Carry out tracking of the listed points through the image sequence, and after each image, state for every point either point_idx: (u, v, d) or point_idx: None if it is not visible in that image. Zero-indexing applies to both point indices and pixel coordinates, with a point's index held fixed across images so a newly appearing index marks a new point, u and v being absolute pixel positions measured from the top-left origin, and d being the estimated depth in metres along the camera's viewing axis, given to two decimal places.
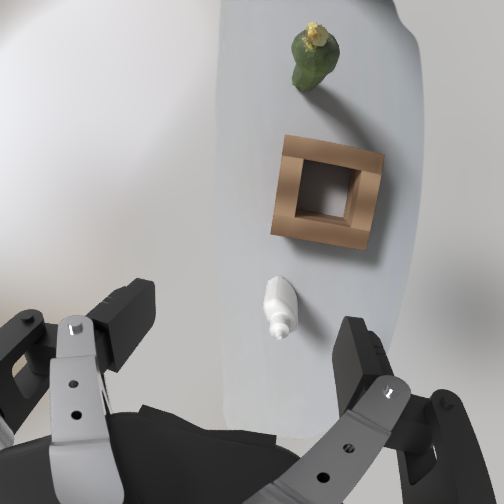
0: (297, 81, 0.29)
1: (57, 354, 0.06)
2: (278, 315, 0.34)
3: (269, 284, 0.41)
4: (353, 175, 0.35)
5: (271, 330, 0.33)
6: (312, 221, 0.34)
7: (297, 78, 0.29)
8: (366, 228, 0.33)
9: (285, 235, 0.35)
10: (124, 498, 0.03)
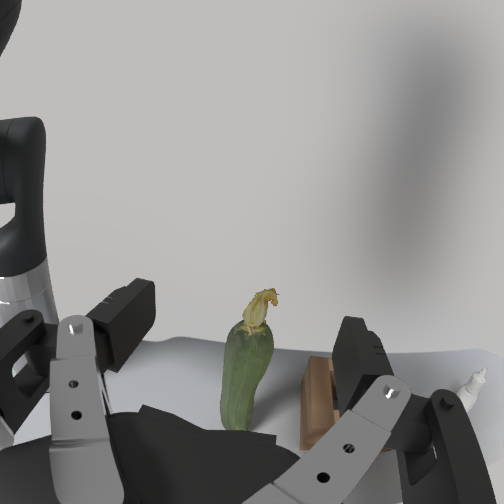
0: (246, 417, 0.27)
1: (57, 354, 0.06)
2: (469, 390, 0.25)
3: None
4: None
5: (483, 381, 0.24)
6: None
7: (245, 412, 0.27)
8: None
9: None
10: (124, 498, 0.03)
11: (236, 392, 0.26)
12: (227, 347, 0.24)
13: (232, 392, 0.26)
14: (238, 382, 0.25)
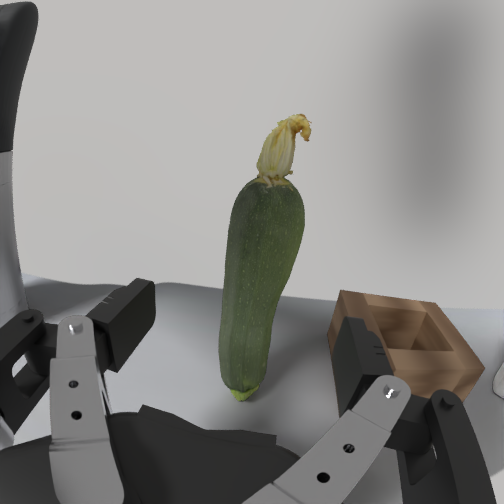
0: (260, 360, 0.19)
1: (57, 354, 0.06)
2: None
3: None
4: None
5: None
6: (445, 337, 0.21)
7: (258, 352, 0.18)
8: (418, 302, 0.27)
9: (475, 356, 0.18)
10: (124, 498, 0.03)
11: (245, 308, 0.17)
12: (232, 217, 0.16)
13: (238, 310, 0.17)
14: (250, 284, 0.16)
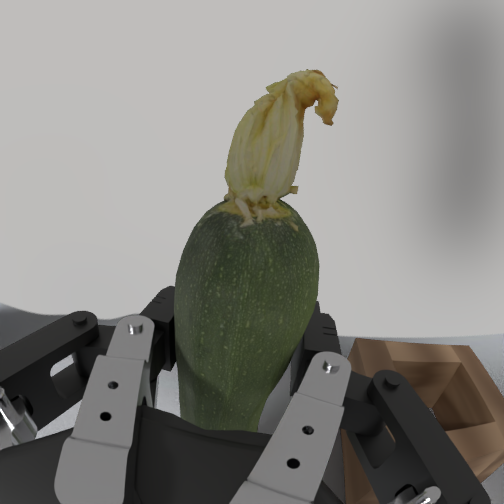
0: None
1: (108, 351, 0.07)
2: None
3: None
4: None
5: None
6: (485, 400, 0.13)
7: None
8: (450, 348, 0.19)
9: None
10: (124, 498, 0.03)
11: (212, 418, 0.09)
12: (177, 281, 0.08)
13: (202, 418, 0.09)
14: (215, 393, 0.08)
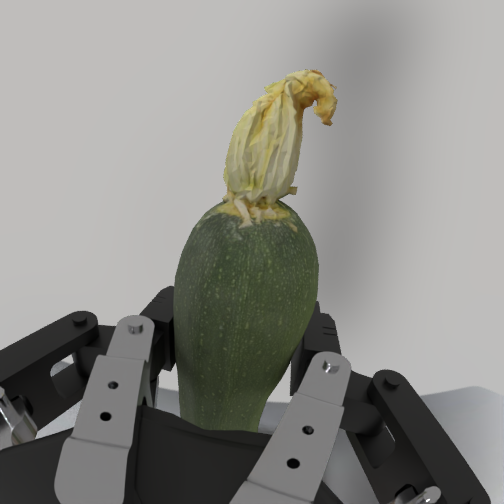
0: None
1: (108, 351, 0.07)
2: None
3: None
4: None
5: None
6: None
7: None
8: None
9: None
10: (124, 498, 0.03)
11: (212, 419, 0.09)
12: (176, 282, 0.08)
13: (201, 419, 0.09)
14: (215, 395, 0.08)
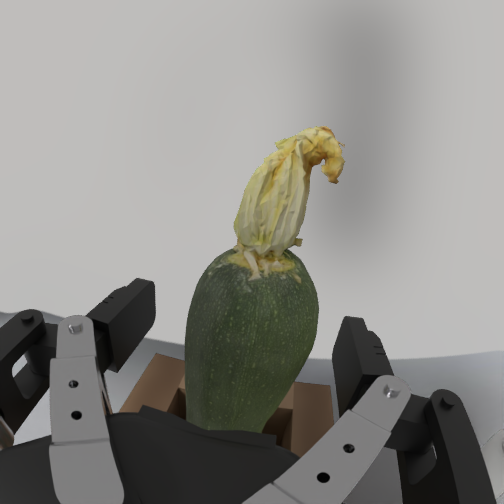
0: None
1: (57, 354, 0.06)
2: None
3: None
4: None
5: None
6: None
7: None
8: None
9: None
10: (124, 498, 0.03)
11: None
12: (188, 322, 0.09)
13: None
14: (221, 418, 0.09)
